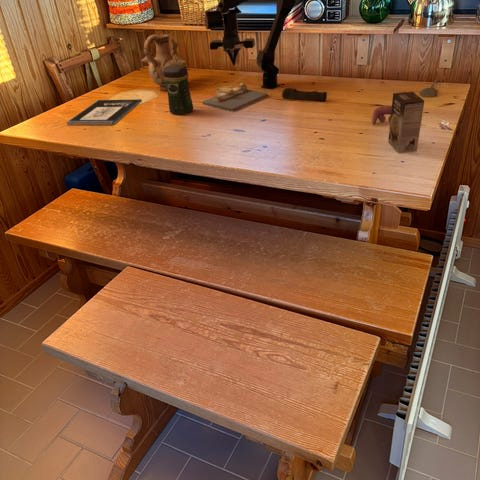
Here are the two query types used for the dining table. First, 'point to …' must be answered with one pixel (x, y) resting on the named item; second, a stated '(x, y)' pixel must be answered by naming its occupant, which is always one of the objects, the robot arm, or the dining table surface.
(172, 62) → the ceramic vessel
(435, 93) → the soupspoon
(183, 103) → the coffee jar
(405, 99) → the coffee box
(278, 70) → the robot arm
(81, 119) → the sketchbook
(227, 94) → the birch latch bar
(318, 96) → the hand tool
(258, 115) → the dining table surface
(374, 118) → the toy animal
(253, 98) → the keeper baseplate
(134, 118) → the dining table surface
